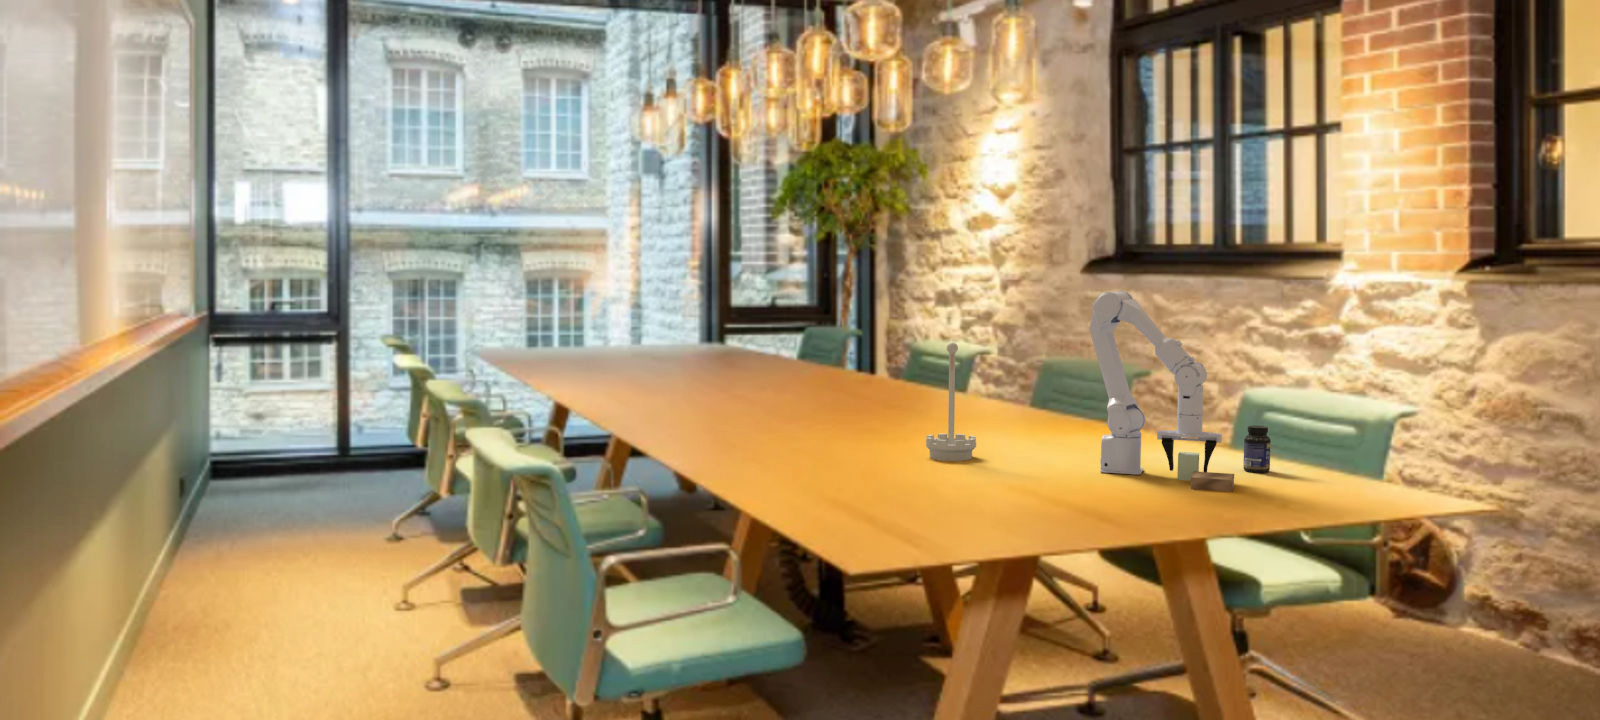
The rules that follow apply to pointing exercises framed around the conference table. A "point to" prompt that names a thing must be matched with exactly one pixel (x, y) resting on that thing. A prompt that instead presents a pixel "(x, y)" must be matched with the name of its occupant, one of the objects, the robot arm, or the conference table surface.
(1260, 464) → the pill bottle
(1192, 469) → the sage block
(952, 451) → the flag stand
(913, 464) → the conference table surface
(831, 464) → the conference table surface
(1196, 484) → the walnut box
